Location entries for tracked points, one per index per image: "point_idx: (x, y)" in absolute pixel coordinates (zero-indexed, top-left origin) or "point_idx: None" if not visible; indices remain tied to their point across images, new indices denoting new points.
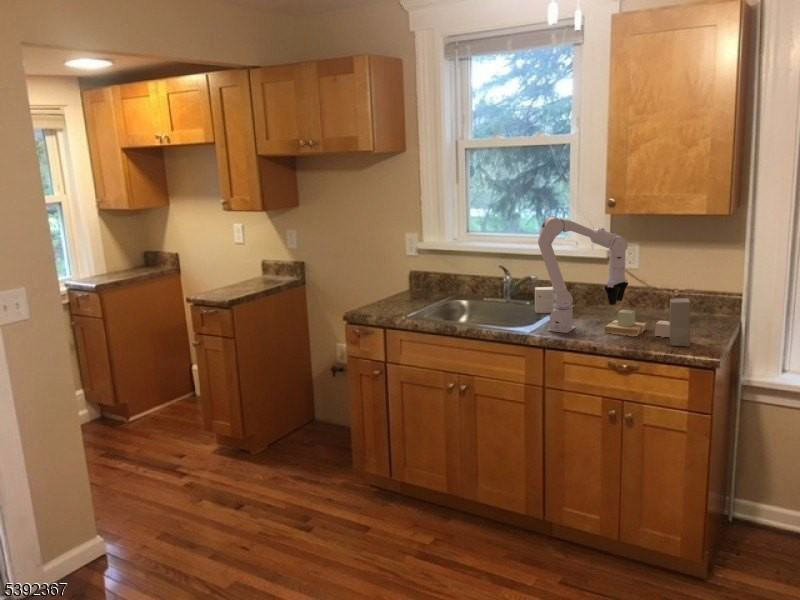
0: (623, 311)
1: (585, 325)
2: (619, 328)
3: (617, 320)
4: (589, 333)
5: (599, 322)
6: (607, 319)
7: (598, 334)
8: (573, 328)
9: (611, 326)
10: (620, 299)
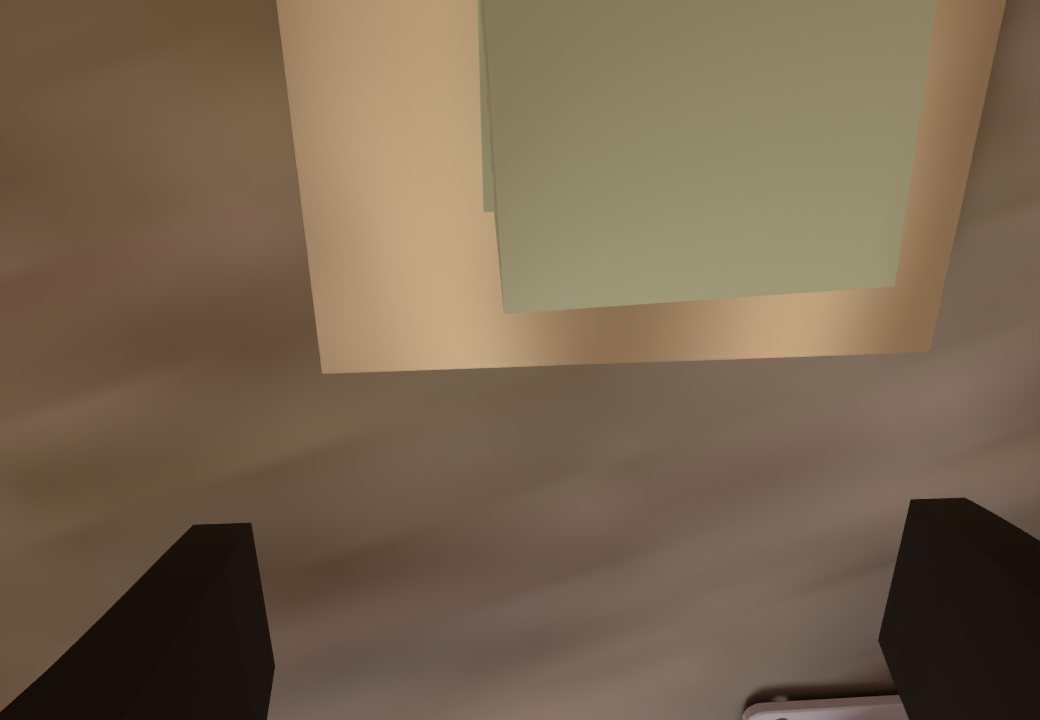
0: (740, 186)
1: (552, 659)
2: (990, 63)
3: (359, 318)
4: (979, 471)
5: (275, 579)
6: (13, 553)
7: (1004, 349)
8: (845, 704)
9: None
10: (244, 590)
